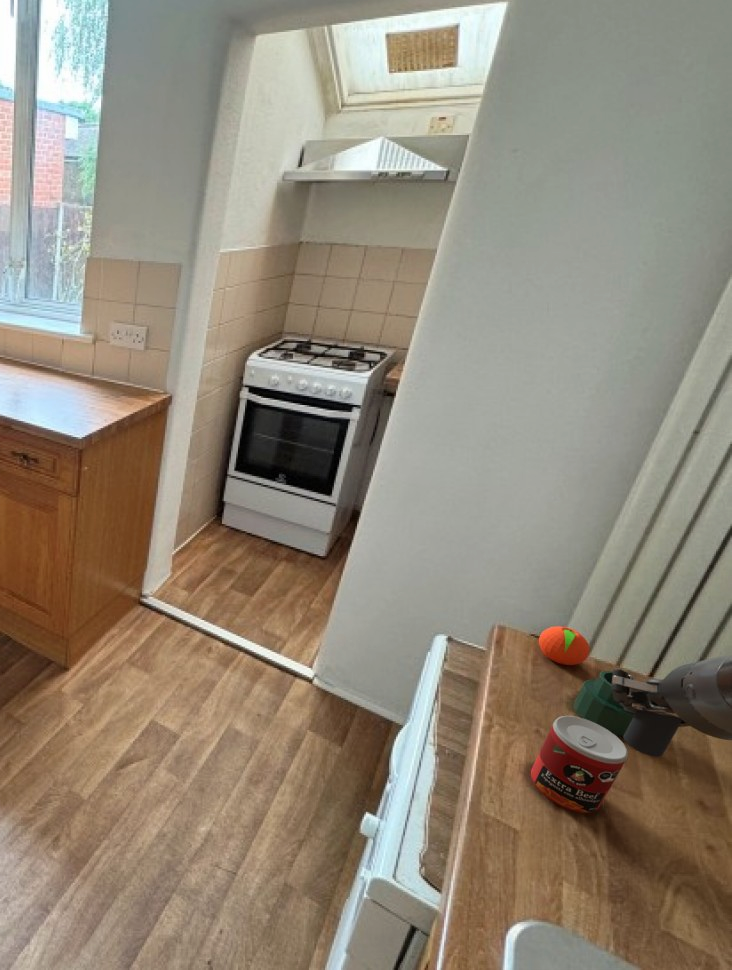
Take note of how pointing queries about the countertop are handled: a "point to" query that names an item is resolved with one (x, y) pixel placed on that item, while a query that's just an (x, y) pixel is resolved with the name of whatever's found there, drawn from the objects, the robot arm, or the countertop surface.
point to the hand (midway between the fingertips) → (650, 709)
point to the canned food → (578, 764)
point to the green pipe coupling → (602, 705)
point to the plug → (651, 732)
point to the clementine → (564, 645)
